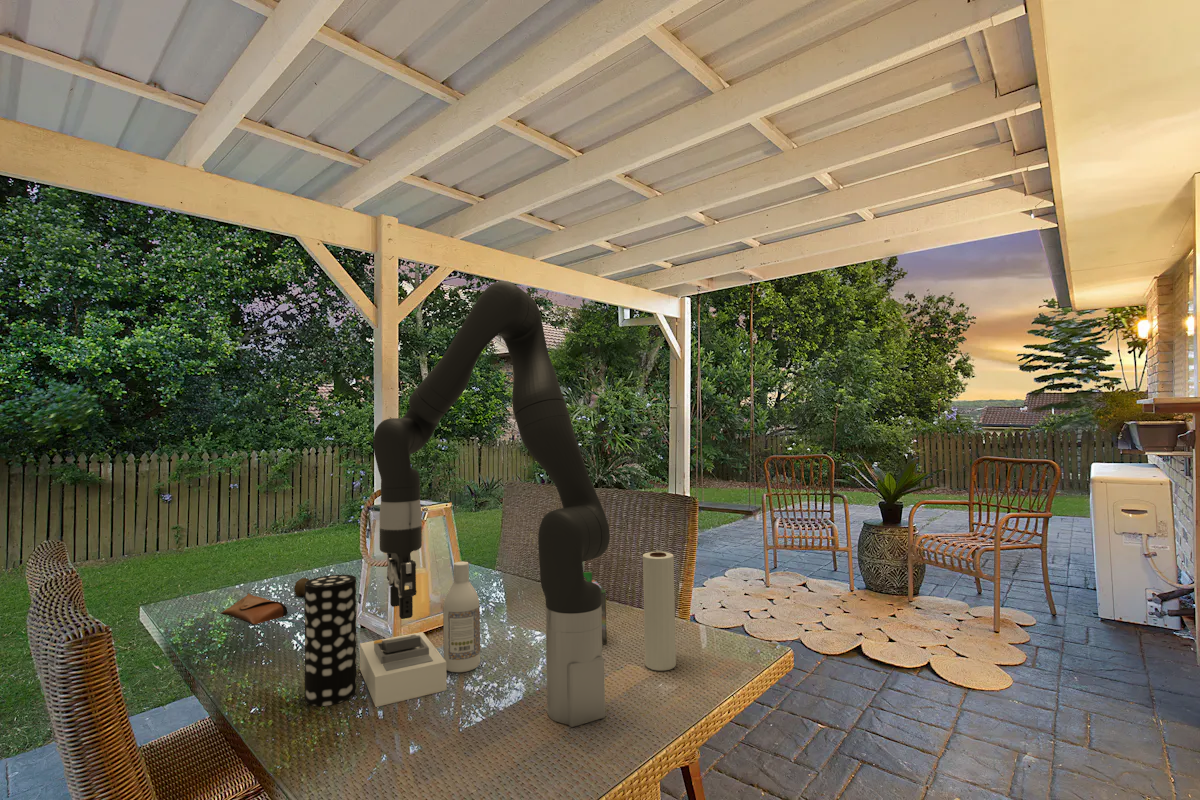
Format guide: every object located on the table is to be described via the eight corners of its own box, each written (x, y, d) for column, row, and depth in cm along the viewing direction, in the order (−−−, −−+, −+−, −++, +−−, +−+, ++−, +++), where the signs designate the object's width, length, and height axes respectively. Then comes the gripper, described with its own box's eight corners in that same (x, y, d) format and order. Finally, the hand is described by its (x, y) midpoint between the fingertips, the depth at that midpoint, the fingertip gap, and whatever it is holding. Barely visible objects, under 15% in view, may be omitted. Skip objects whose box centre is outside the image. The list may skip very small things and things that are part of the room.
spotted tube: (300, 709, 101) (300, 588, 101) (310, 688, 109) (309, 576, 109) (353, 702, 103) (352, 584, 104) (359, 682, 111) (358, 573, 112)
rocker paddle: (420, 646, 111) (420, 636, 112) (386, 652, 108) (386, 643, 109) (414, 643, 115) (414, 634, 116) (382, 649, 112) (381, 640, 113)
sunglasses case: (216, 613, 153) (230, 587, 157) (241, 620, 158) (254, 595, 161) (254, 625, 144) (268, 597, 147) (279, 632, 149) (292, 605, 152)
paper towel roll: (665, 674, 112) (663, 558, 113) (638, 666, 116) (636, 555, 116) (684, 661, 118) (682, 551, 118) (658, 654, 121) (656, 548, 122)
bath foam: (486, 666, 117) (485, 563, 118) (453, 676, 113) (452, 569, 113) (470, 656, 122) (469, 557, 123) (437, 665, 118) (437, 562, 119)
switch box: (446, 690, 107) (446, 654, 107) (375, 707, 101) (375, 669, 101) (422, 656, 123) (422, 625, 123) (360, 669, 117) (359, 637, 117)
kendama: (315, 592, 173) (367, 598, 165) (285, 603, 165) (338, 609, 156) (314, 571, 173) (366, 576, 165) (284, 581, 165) (337, 586, 156)
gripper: (430, 528, 109) (430, 618, 108) (412, 517, 121) (413, 598, 120) (386, 532, 105) (387, 626, 104) (373, 521, 117) (373, 605, 117)
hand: (401, 611), depth 112 cm, fingers open, 8 cm apart
